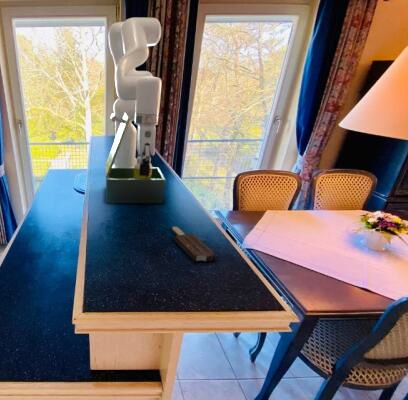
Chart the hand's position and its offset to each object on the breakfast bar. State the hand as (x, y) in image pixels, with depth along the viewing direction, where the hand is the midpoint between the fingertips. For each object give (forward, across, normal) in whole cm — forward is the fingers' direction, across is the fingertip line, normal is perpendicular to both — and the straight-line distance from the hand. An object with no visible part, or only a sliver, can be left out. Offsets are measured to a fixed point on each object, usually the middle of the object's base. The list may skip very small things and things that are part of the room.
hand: (142, 171), depth 93 cm
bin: (+9, 0, +3) cm, 10 cm away
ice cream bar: (+10, -30, -8) cm, 33 cm away
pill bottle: (+6, 0, 0) cm, 6 cm away
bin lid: (-9, 0, +9) cm, 13 cm away
